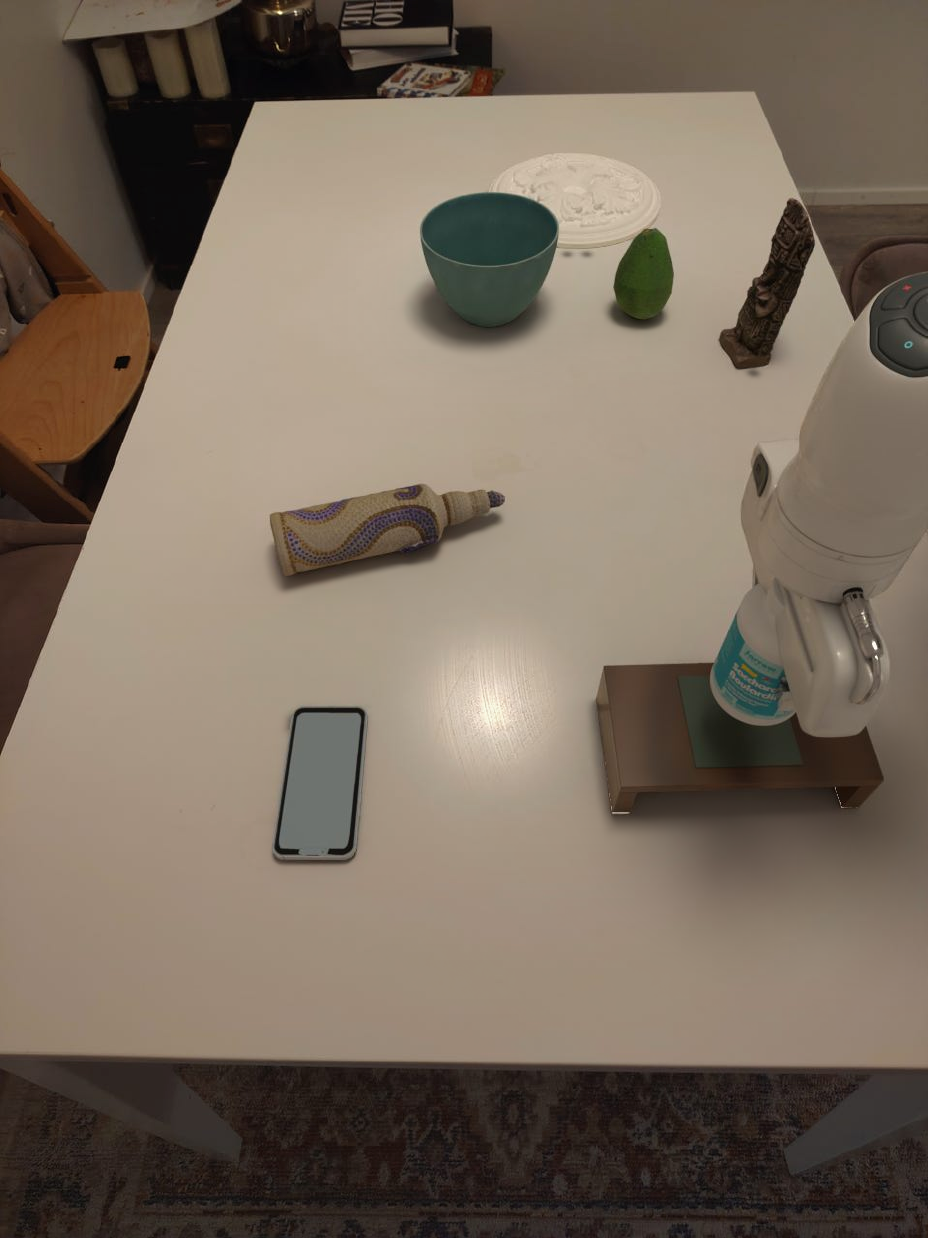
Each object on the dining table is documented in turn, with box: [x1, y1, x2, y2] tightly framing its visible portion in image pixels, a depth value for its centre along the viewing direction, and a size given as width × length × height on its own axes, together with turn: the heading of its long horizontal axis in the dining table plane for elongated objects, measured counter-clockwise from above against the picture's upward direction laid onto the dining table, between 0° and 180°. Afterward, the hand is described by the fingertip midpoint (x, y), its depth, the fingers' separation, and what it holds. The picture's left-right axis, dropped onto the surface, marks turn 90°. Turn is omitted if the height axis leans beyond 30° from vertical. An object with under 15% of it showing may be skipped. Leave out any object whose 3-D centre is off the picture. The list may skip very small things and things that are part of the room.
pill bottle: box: [710, 577, 796, 726], centre depth 62 cm, size 8×7×14 cm
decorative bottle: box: [269, 483, 506, 576], centre depth 90 cm, size 26×8×7 cm, turn 105°
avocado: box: [612, 227, 675, 320], centre depth 112 cm, size 8×8×12 cm
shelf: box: [595, 662, 885, 813], centre depth 74 cm, size 22×12×6 cm, turn 91°
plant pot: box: [419, 191, 559, 328], centre depth 113 cm, size 18×18×12 cm
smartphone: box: [271, 705, 369, 861], centre depth 75 cm, size 7×1×15 cm
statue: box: [718, 197, 816, 369], centre depth 103 cm, size 7×7×20 cm
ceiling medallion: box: [487, 152, 662, 250], centre depth 133 cm, size 28×28×3 cm
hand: (772, 652), depth 63 cm, fingers closed on pill bottle, 7 cm apart
